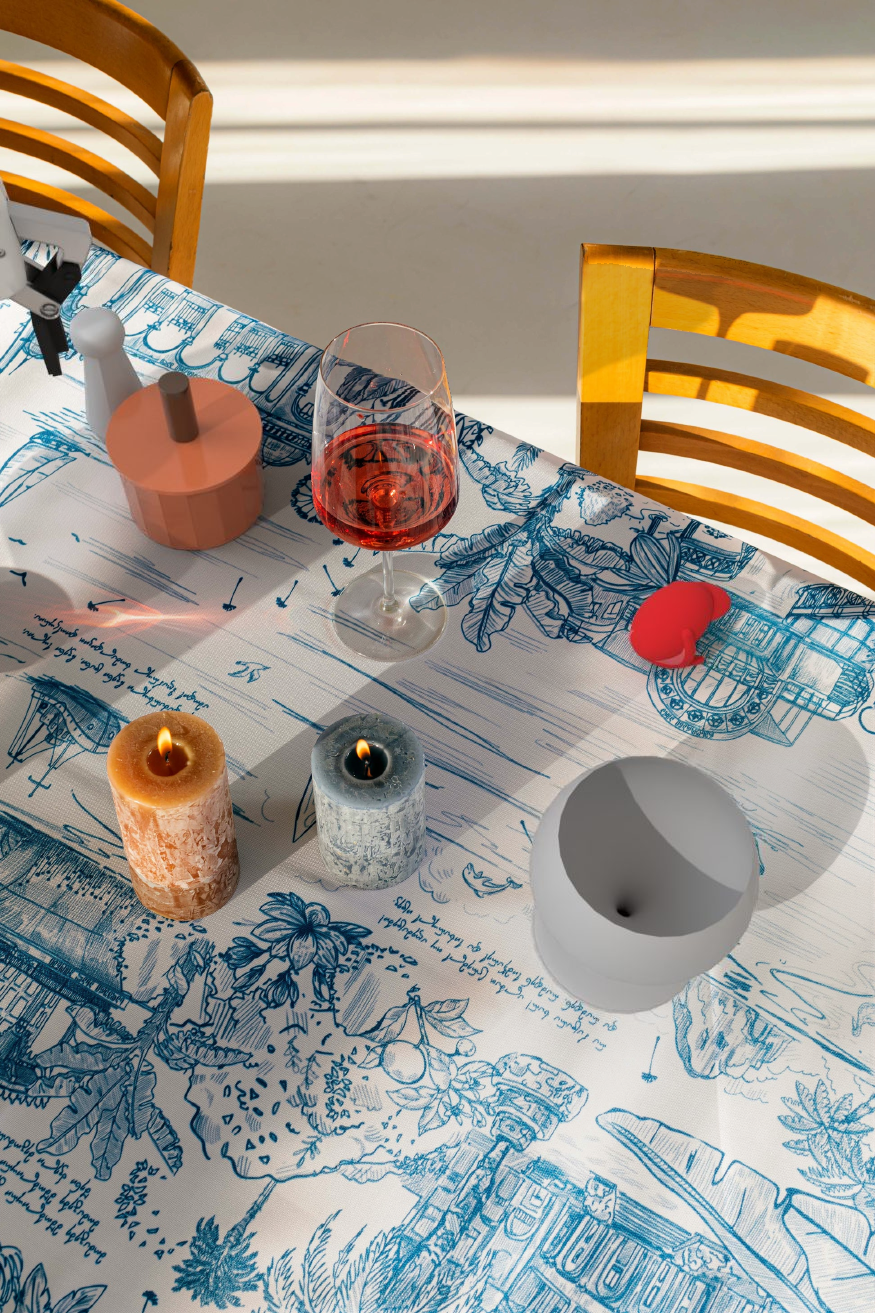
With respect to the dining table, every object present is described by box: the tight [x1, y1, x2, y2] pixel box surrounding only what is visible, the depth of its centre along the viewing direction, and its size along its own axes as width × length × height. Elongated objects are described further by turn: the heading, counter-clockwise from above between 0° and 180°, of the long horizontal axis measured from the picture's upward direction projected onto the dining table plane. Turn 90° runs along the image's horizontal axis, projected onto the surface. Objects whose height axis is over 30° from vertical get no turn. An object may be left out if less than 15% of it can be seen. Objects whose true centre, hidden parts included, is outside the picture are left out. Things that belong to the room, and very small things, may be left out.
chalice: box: [528, 755, 761, 1015], centre depth 76 cm, size 14×14×15 cm
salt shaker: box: [68, 306, 145, 445], centre depth 100 cm, size 6×6×13 cm
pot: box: [119, 449, 266, 551], centre depth 99 cm, size 11×11×8 cm
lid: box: [105, 370, 264, 496], centre depth 94 cm, size 12×12×7 cm
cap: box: [627, 580, 732, 670], centre depth 93 cm, size 8×6×6 cm
